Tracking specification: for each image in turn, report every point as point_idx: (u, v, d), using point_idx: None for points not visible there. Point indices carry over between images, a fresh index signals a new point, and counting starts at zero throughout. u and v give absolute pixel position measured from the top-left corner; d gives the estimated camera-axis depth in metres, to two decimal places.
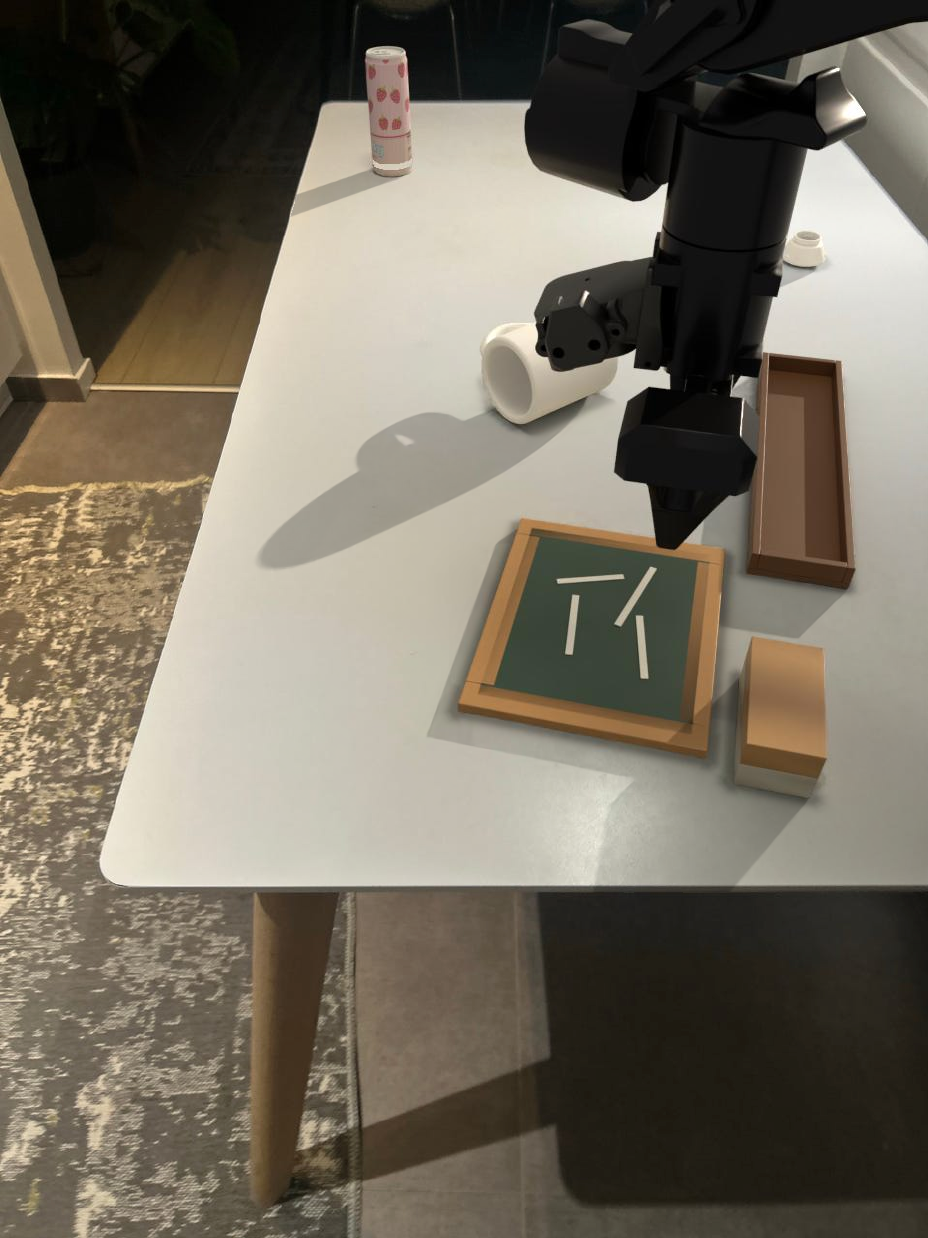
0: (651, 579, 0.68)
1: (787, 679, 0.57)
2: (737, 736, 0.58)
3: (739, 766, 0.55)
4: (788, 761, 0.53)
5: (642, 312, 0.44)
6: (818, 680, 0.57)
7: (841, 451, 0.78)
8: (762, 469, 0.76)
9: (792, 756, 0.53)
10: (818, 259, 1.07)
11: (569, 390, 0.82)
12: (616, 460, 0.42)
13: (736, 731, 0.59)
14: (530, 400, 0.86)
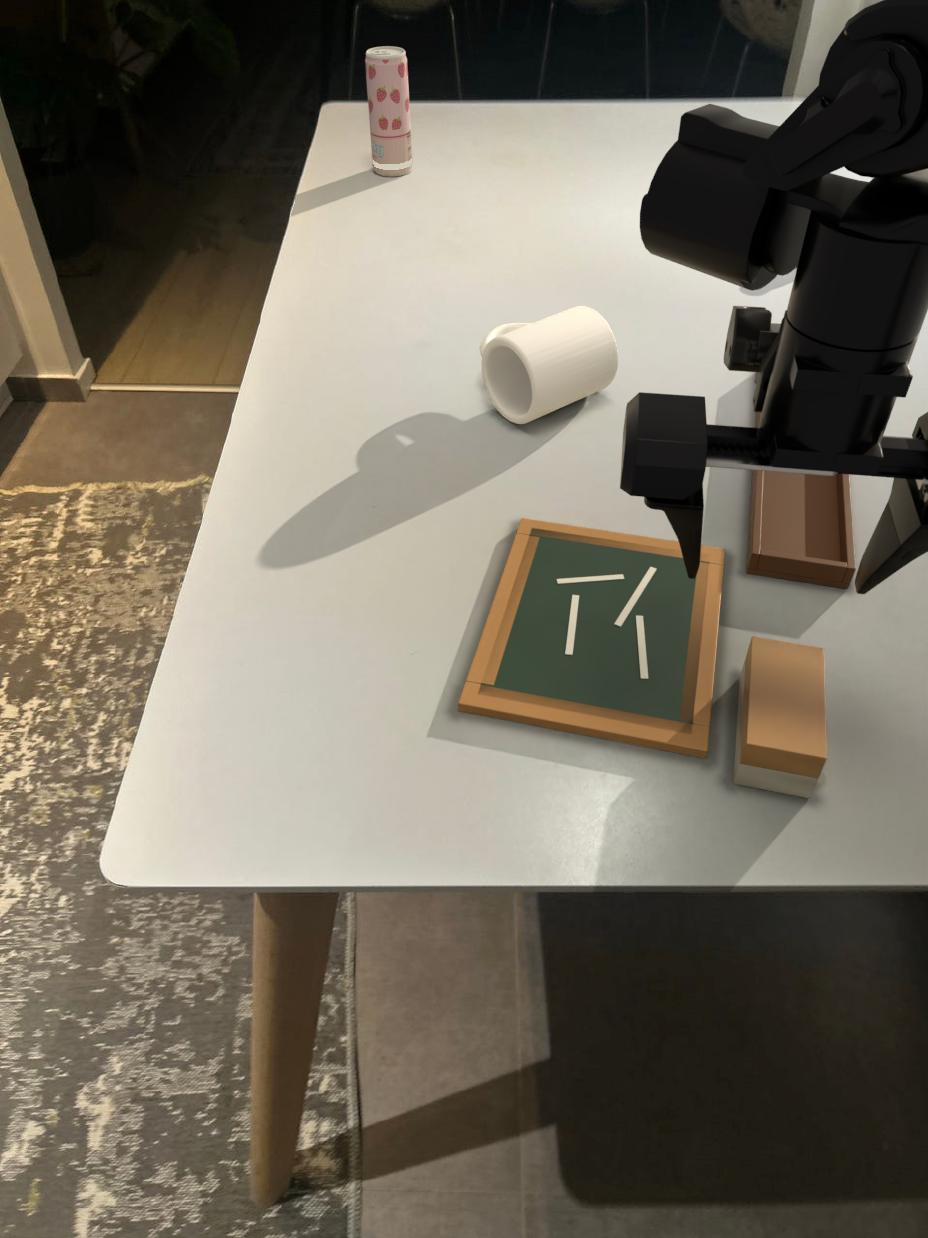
0: (651, 579, 0.68)
1: (787, 679, 0.57)
2: (737, 736, 0.58)
3: (739, 766, 0.55)
4: (788, 761, 0.53)
5: (768, 350, 0.46)
6: (818, 680, 0.57)
7: None
8: None
9: (792, 756, 0.53)
10: None
11: (569, 390, 0.82)
12: None
13: (736, 731, 0.59)
14: (530, 400, 0.86)
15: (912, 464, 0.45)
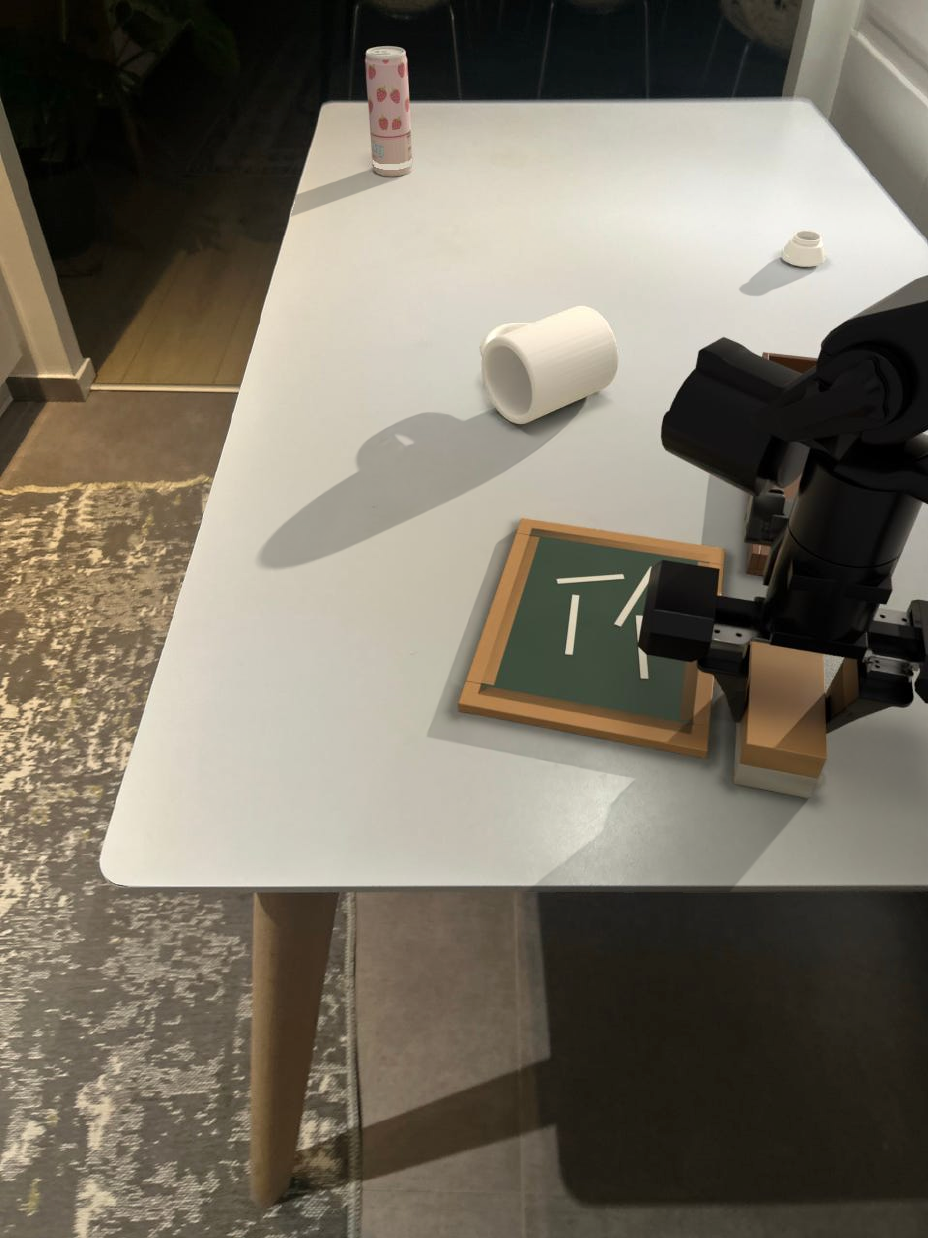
0: None
1: (786, 679, 0.57)
2: (737, 736, 0.58)
3: (739, 766, 0.55)
4: (788, 761, 0.53)
5: (777, 535, 0.52)
6: (818, 679, 0.57)
7: None
8: None
9: (792, 756, 0.53)
10: (818, 259, 1.07)
11: (569, 390, 0.82)
12: None
13: (736, 731, 0.59)
14: (530, 400, 0.86)
15: (898, 647, 0.51)
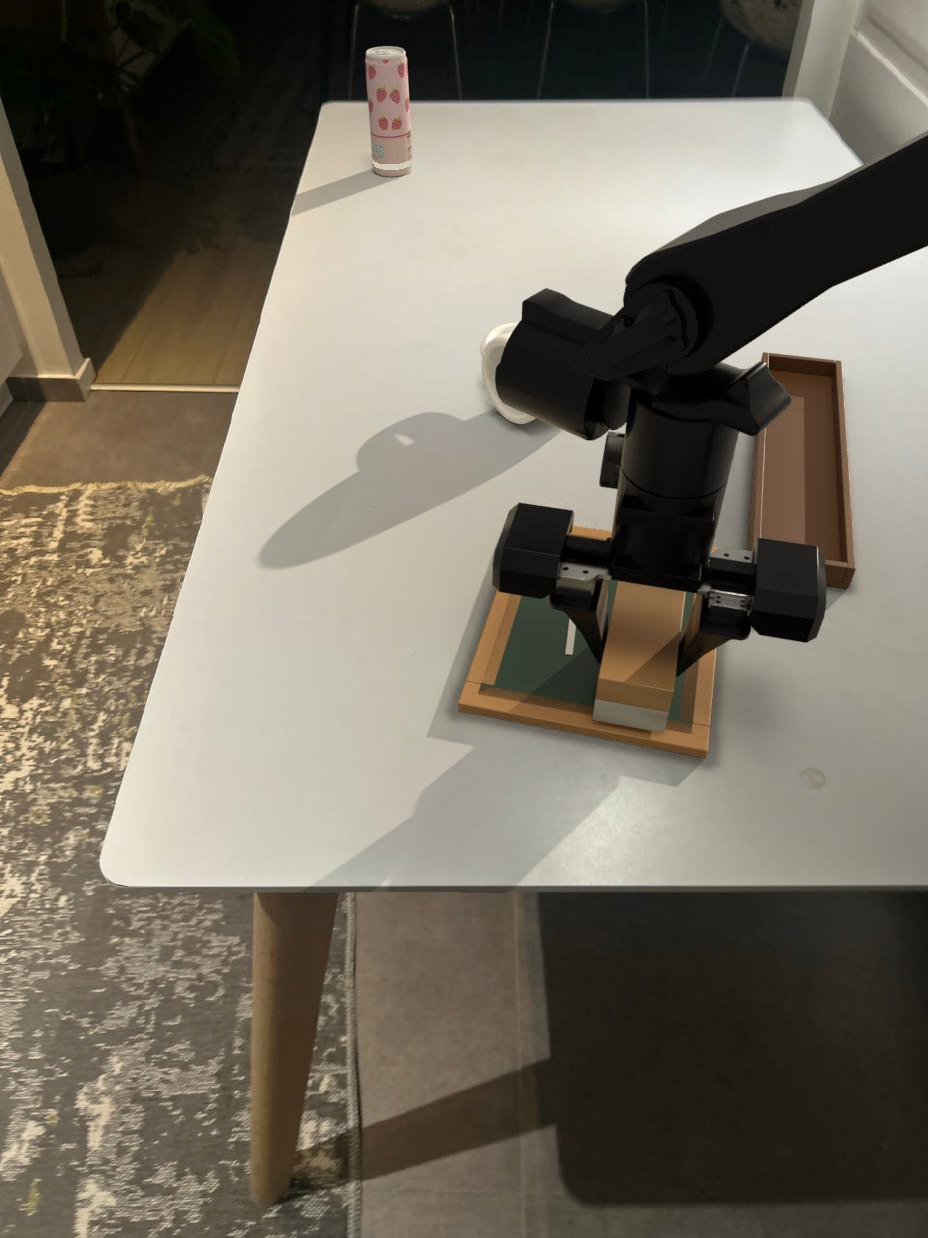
0: None
1: (645, 620, 0.59)
2: None
3: (595, 701, 0.57)
4: (639, 695, 0.56)
5: None
6: (675, 620, 0.59)
7: (841, 451, 0.78)
8: (762, 469, 0.76)
9: (641, 690, 0.55)
10: None
11: None
12: None
13: None
14: None
15: (737, 582, 0.53)
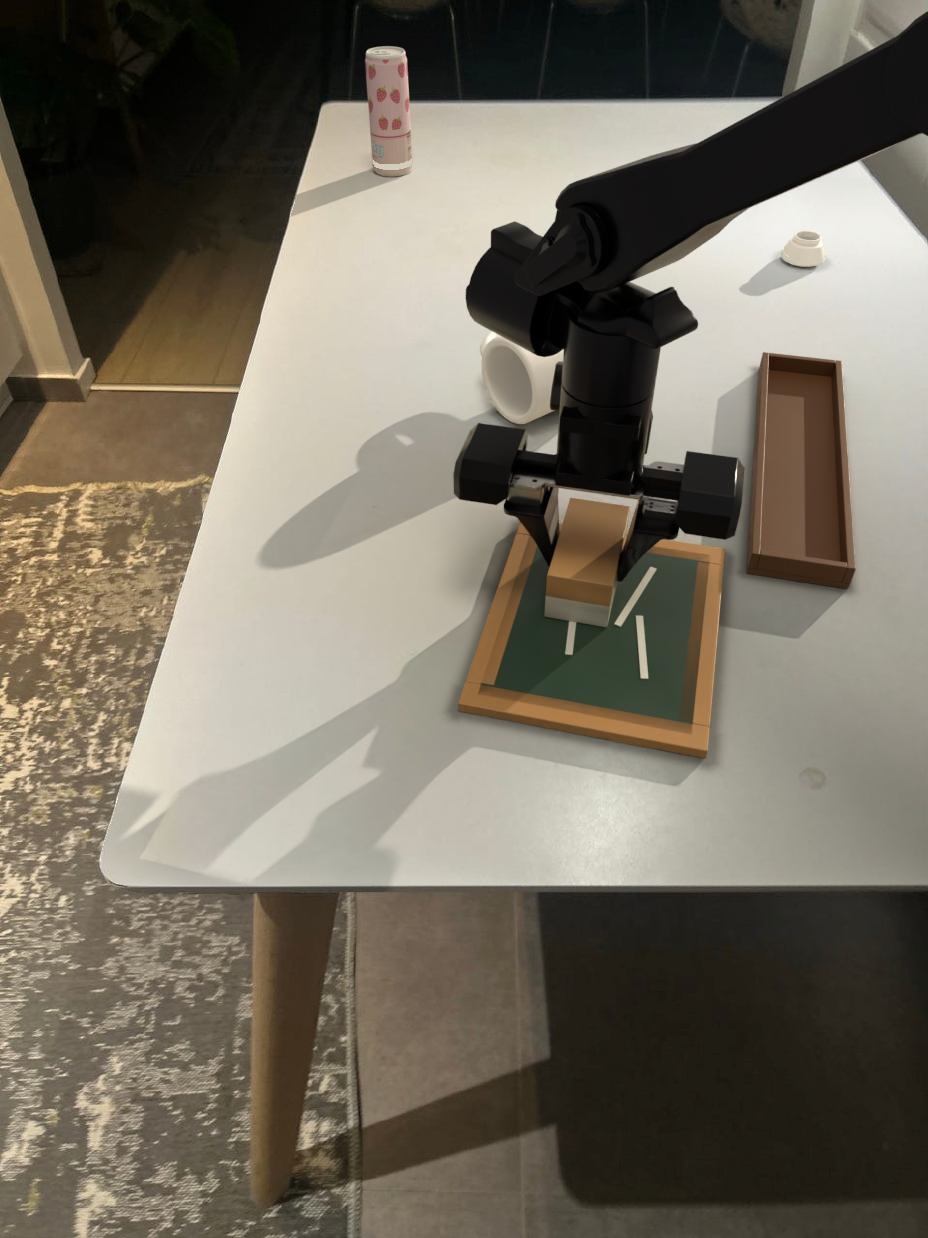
0: (651, 579, 0.68)
1: (592, 529, 0.66)
2: None
3: (546, 598, 0.64)
4: (583, 590, 0.63)
5: None
6: (619, 529, 0.66)
7: (841, 451, 0.78)
8: (762, 469, 0.76)
9: (585, 585, 0.62)
10: (818, 259, 1.07)
11: None
12: None
13: None
14: (530, 400, 0.86)
15: (667, 489, 0.60)
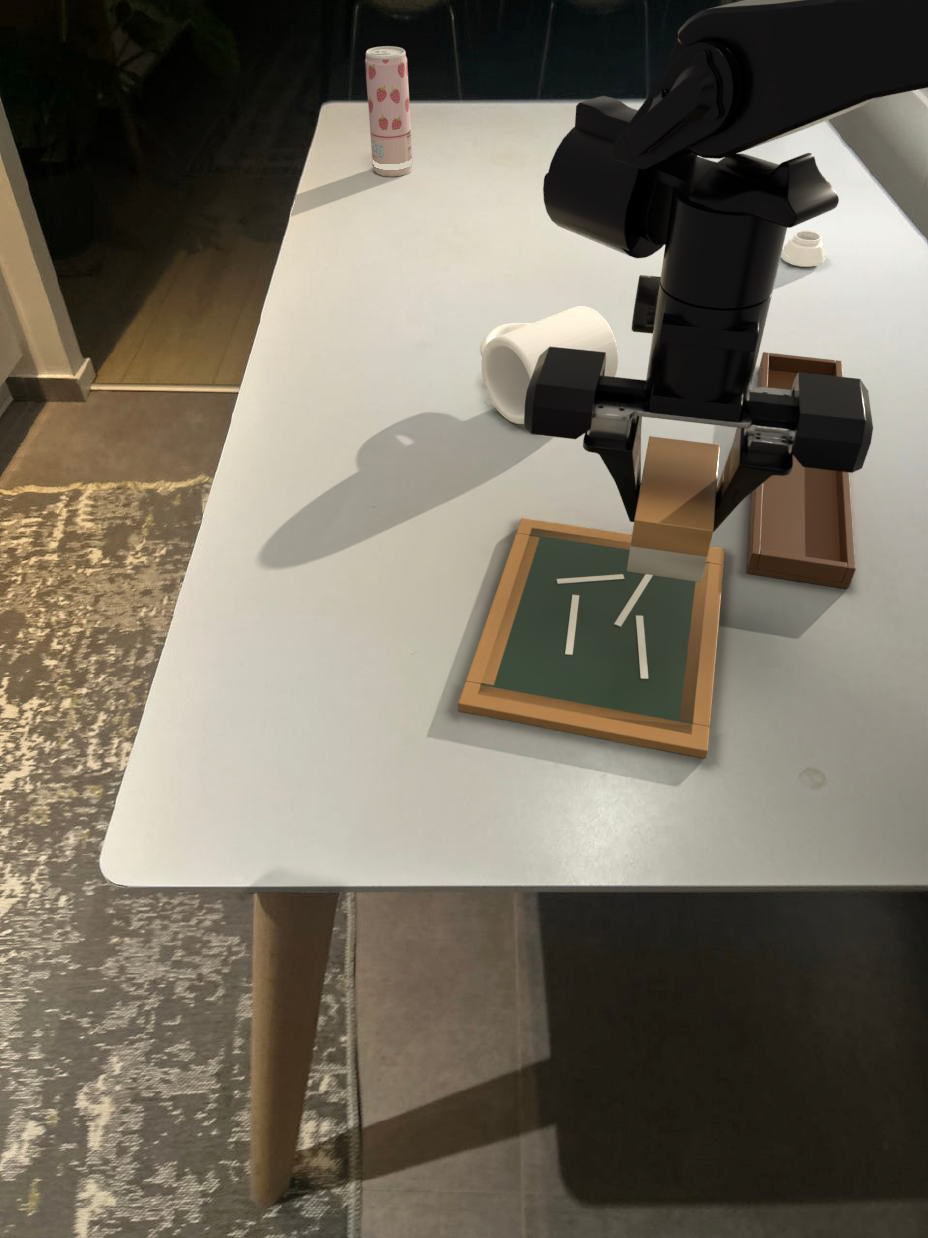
0: (651, 579, 0.68)
1: (680, 469, 0.57)
2: None
3: (630, 549, 0.55)
4: (676, 538, 0.54)
5: None
6: (711, 469, 0.57)
7: None
8: None
9: (679, 531, 0.53)
10: (818, 259, 1.07)
11: None
12: None
13: None
14: None
15: (778, 416, 0.51)
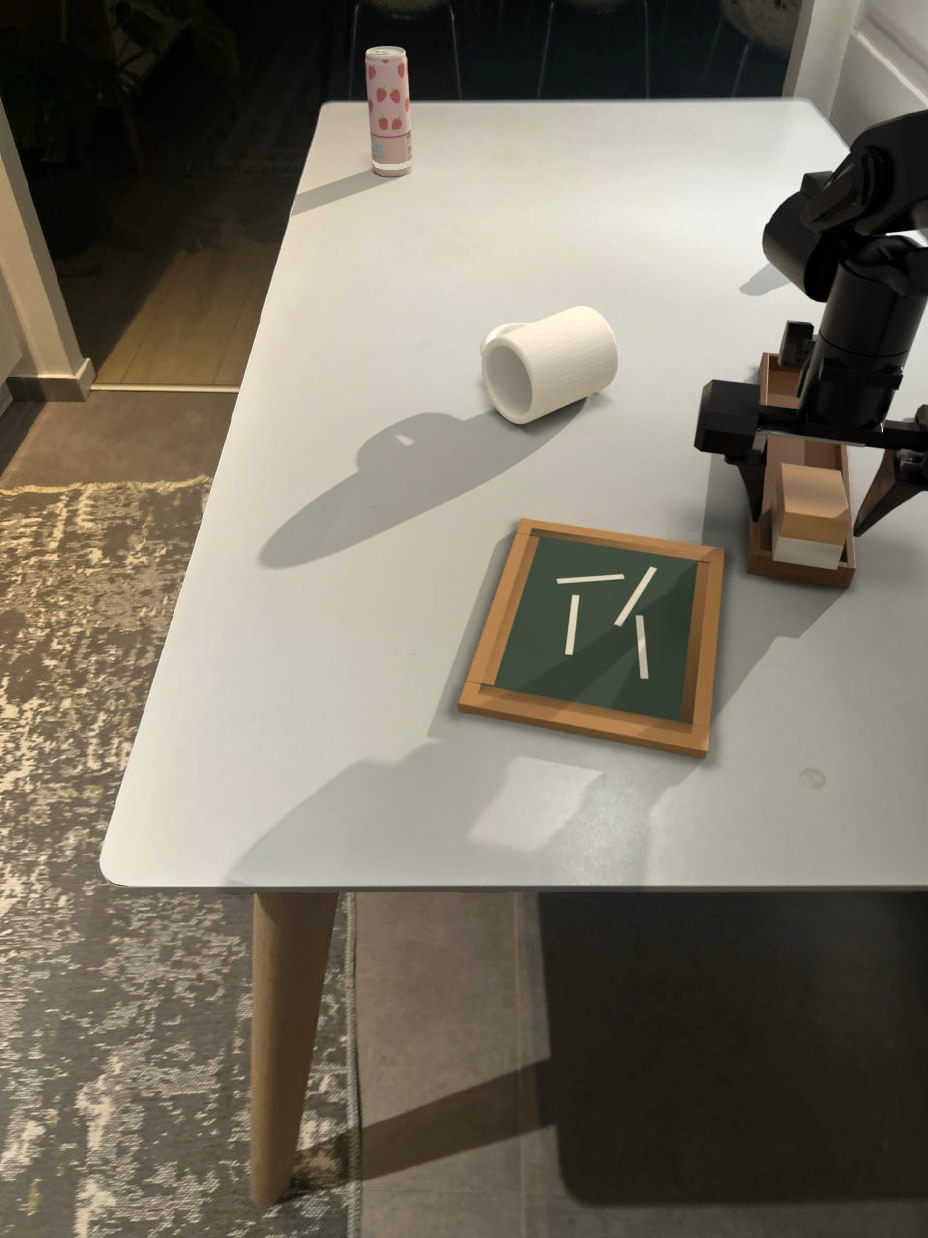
0: (651, 579, 0.68)
1: (813, 483, 0.69)
2: (773, 533, 0.70)
3: (778, 539, 0.66)
4: (819, 528, 0.65)
5: (808, 353, 0.64)
6: (838, 485, 0.69)
7: (841, 451, 0.78)
8: None
9: (822, 521, 0.65)
10: None
11: (569, 390, 0.82)
12: None
13: (771, 534, 0.71)
14: (530, 400, 0.86)
15: (907, 440, 0.63)
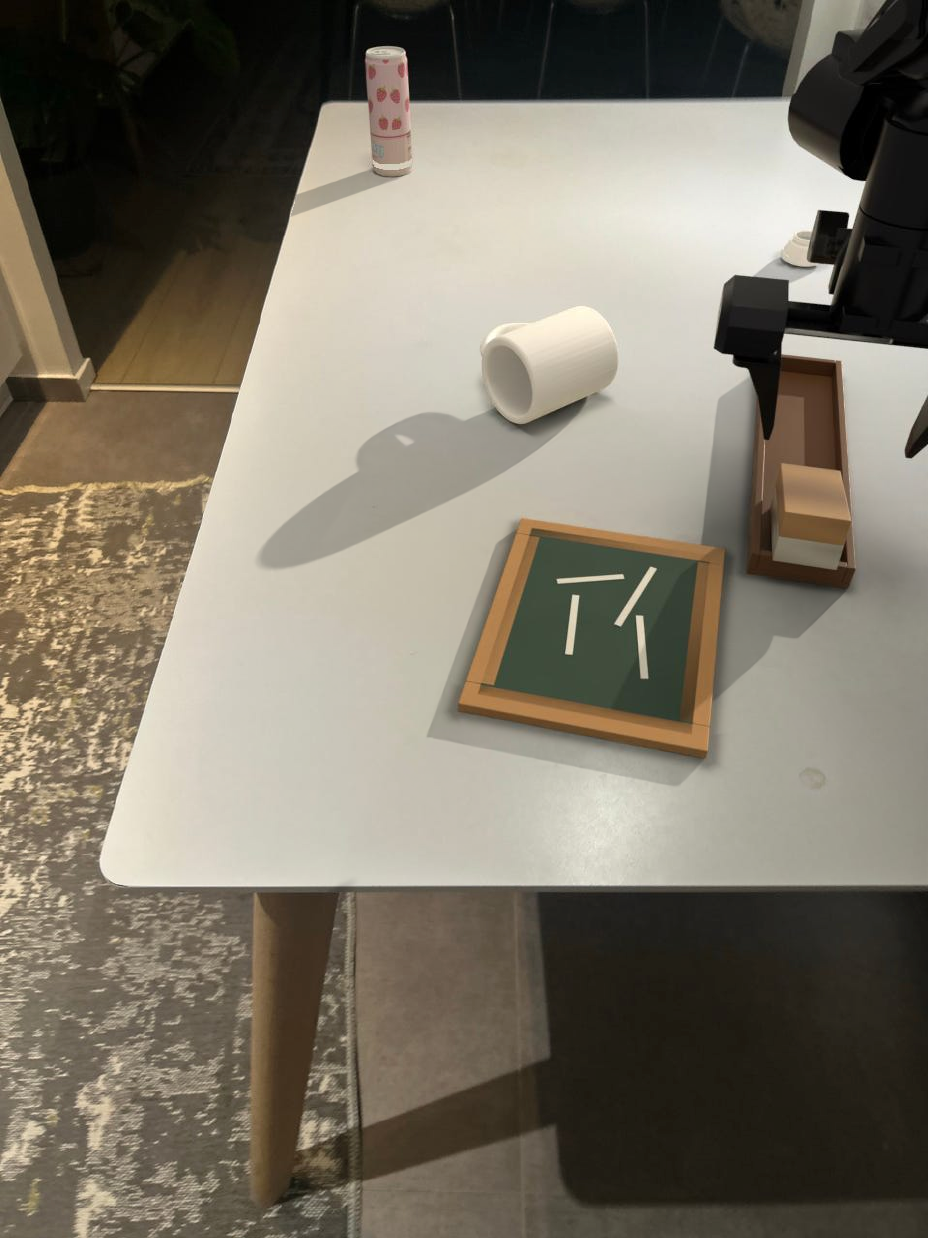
0: (651, 579, 0.68)
1: (813, 483, 0.69)
2: (773, 533, 0.70)
3: (778, 539, 0.66)
4: (819, 528, 0.65)
5: (843, 242, 0.56)
6: (838, 485, 0.69)
7: (841, 451, 0.78)
8: (762, 469, 0.76)
9: (822, 521, 0.65)
10: None
11: (569, 390, 0.82)
12: None
13: (771, 534, 0.71)
14: (530, 400, 0.86)
15: None
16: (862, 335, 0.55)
